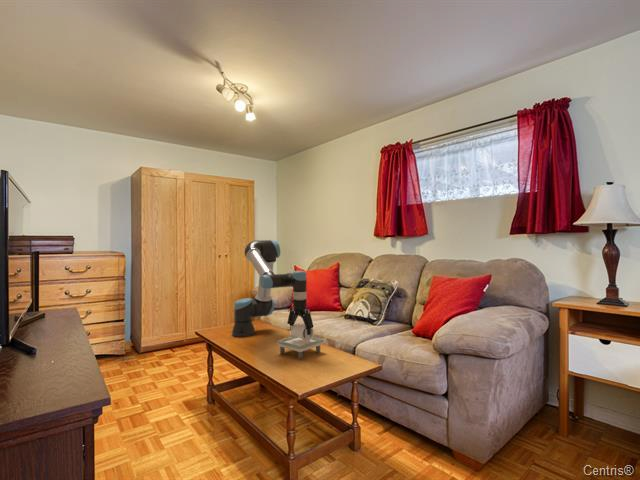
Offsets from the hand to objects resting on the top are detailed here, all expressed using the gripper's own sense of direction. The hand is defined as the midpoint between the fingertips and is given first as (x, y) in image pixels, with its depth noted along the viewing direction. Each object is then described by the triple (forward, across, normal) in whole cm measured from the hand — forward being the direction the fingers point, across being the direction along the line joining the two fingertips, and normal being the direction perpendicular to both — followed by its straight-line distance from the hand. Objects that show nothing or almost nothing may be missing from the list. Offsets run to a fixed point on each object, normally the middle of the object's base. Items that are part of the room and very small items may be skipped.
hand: (300, 338), depth 190 cm
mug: (+1, 0, 0) cm, 1 cm away
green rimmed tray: (+8, 0, 0) cm, 8 cm away
